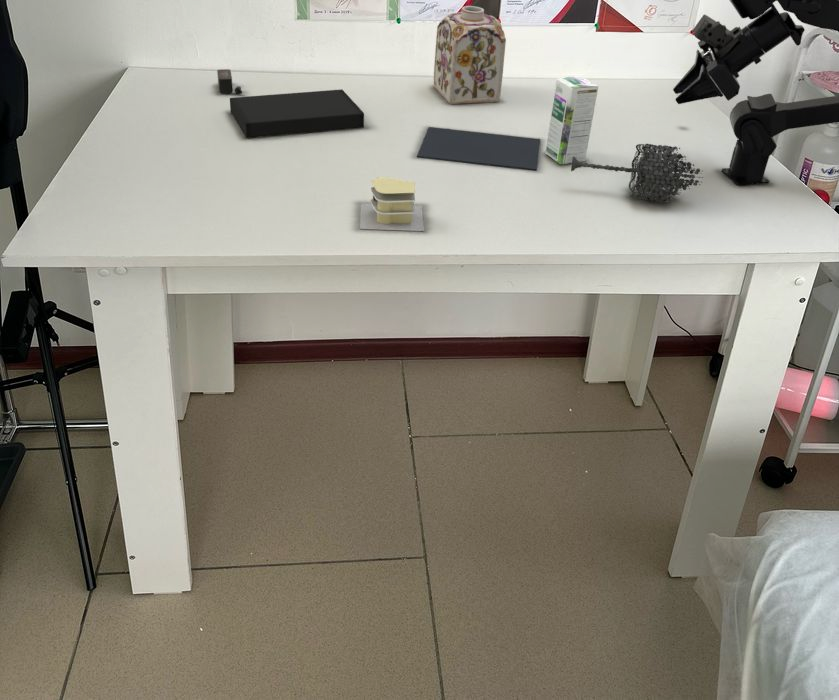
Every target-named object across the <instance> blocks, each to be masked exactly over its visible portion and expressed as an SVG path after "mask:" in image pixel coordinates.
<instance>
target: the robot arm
mask: <svg viewBox="0 0 839 700" xmlns="http://www.w3.org/2000/svg"><path fill="white" fill-rule="evenodd" d="M775 2H777V3H778V4H779V6H780V8H782V10H783V12H779V10H778V9H777V8H776V6H775ZM729 3H731V5H732V6H733V8H734V9H735V11H736V13H737V14H738V15H739V17H740V18H741V19H747V18H748V19H749V20H752V21H750V23H748V24H747V25H745V26H744V27H742V28H741V27H740V26H735V27H734V28H732V29H731V30H730V29H728V28H727V26H726V25H725V24H722V23H721V22H720V20H717V21H716V20H715V19H713V18H711V17H710V16H708V15H707V14H702V16H701V18H700V19H699V20H698V22H697V23H696V24H695V26H694V27H693V29H692V31H691V32H693V36H694V37H695V38H696V39H697V40H699V41H698V42H697V45H698V47H699V49H700V50H702V51H700V50H699V49H696V54H695V58H694V60H695V61H694V63H693V65H692V66H691V67H690V69H688V71H686V73H685V74H684V75H683V77H682V78H681V79H680V80H679V81H678V82H677V84H676V85H675V86H674V87H673V89H672V90H673V92H674V94H675V95H677V97H675V102H676V103H677V104H678V105H682V104H686V103H687V104H688V103H692V102H696V101H700V100H706V99H712V98H718V97H720V98H723V97H724V98H725V99H726V100H727V101H728V102H729V101H730V100H732V99H733V98H735V97H737V96H738V95H739V93H740V89H741V85H740V82H739V80H738V78H740V74H739V73H740V72H741V71H743V70H744V69H746V68H748V67H749V66H750V65H751V64H753V63H754V64H755V65H758V64H759V63H761V62H762V59H761V57H763V56H764V55H766V54H768V52H770V51H771V50H773V49H774V48H776V47H777V46H778V45H780V44H782V43H783V42H785V41H786V40H787V39H789V38H791V39H792V41H793V42H794V44H795V45H796V46H797V47H799V46H800V45H801V44H802V39H803V34H804V32H805V31H806V29H805V27H804V26H803V25H801V24H796V23H795V22H794V19H793V18H792V17H791V15H790V14H789V13H791V14H793V15H794V16H795V17H796V19H797V21H799V22H801V23H802V24H805V25H809V26H812V27H816V28H819V29H825V30H831V31H835V32H839V0H729ZM784 11H785V12H784ZM729 123H730V126H731V128H732V131H733V134H734V136H735V138H736V141H735V146H734V147H733V151H732V156H731V159H730V163H729V167H726V168H725V167H724V168H721V173H722V174H723V175H725V176H726V177H727V178H728V179H730V180H731V181H732V182H733V183H734V184H736V185H737V186H749V185H750V186H751V185H768V184H770V180H769V179H768V178H766V176H765V173H766V169H767V166H768V162H769V159H770V156H772V155H773V153H774V152H775V150H776V149H777V142H776V141H775V139H774V137H776V136H777V135H779V134H781V133H783V132H785V131H788V130H792V129H800V128H808V127H813V126H815V127H816V126H821V125H822V126H823V125H829V124H836V123H839V95H832V96H824V97H818V98H813V99H805V100H799V101H791V102H780V101H776V100H775V97H774V95H773V94H772V93H766V94H765V93H764V94H762V95H757V96H750V95H747V96H746V99H744V100H741V101H739V102H737V103H736V104H735V105H734V107H733V108H731V111H730V113H729Z"/></svg>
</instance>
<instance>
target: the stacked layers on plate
mask: <svg viewBox="0 0 839 700" xmlns="http://www.w3.org/2000/svg"><path fill="white" fill-rule="evenodd" d="M370 182H371V184H372V186H373V187H371V188H370V192H371V194H372V198H371V199H370V203H360V220H359V229H360V230H382V231H383V230H384V231H412V232H424V231H425V230H424V217H423V216H424V215H423V206H422V205H415V204H414V203H415V202H416V196H415V194H416V183H415V181H409V180H404V179H397V178H391V177H379V176H377V177H376V178H374V179H372V180H370Z"/></svg>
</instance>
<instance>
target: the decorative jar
mask: <svg viewBox="0 0 839 700" xmlns="http://www.w3.org/2000/svg"><path fill="white" fill-rule="evenodd" d="M460 10H461V11H459V12H452V13H450V14H447V15H446V16H445V17H443V18H442V19H441V21H440V22H439V23H438V24H437V26H436V37H435V38H436V39H435V48H434V49H435V52H434V53H435V54H434V65H433V87H434V88H435V89H436V91H437V92H438V93H439V94H440V95H441V96H442V98H444V99H445V100H446V101H447V102H448V103H449V104H450V105H458V104H460V105H463V104H478V103H494V102H495V103H497V102H500V101H501V92H502V86H503V78H504V77H503V76H504V67H505V66H504V65H505V56H506V55H505V54H506V44H507V39H506V34H505V31H504V29H503V27H502V23H501V21H500V20H499V19H498V18H496V17H495V16H493V15H489V14H487V13H485V9H484V8H483V7H480V6H474V5H465V6H461V9H460Z"/></svg>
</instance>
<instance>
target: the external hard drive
mask: <svg viewBox="0 0 839 700" xmlns="http://www.w3.org/2000/svg"><path fill="white" fill-rule="evenodd" d="M229 109H230V110H229V111H230V113H231V115H232V117H233V118H234V121H235V122H236V125H238V127H239V129H240V130H241V132H242V134H243V136H244V137H245V139H254V138H264V137H275V136H286V135H287V136H288V135H297V134H310V133H321V132H331V131H342V130H352V129H363V128H365V112H364V111H363V110H362V109H361V108H360V107H359V106H358V105H357V104H356V103H355V101H354V100H353V99H352V98H351V97H350V96H349V95H348V94H347V93H346V92H345V91H344V89H343V88H342V89H341V88H340V89H329V90H316V91H315V90H314V91H302V92H301V91H300V92H289V93H288V92H287V93H276V94H263V95H249V96H237V97H236V96H235V97H229Z"/></svg>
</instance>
